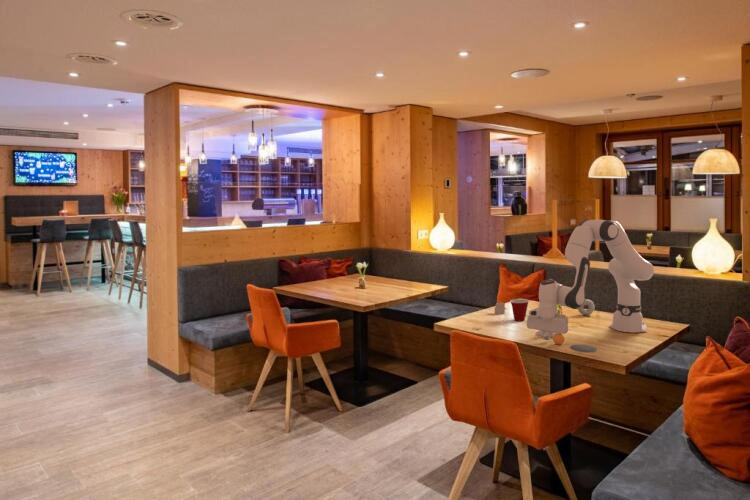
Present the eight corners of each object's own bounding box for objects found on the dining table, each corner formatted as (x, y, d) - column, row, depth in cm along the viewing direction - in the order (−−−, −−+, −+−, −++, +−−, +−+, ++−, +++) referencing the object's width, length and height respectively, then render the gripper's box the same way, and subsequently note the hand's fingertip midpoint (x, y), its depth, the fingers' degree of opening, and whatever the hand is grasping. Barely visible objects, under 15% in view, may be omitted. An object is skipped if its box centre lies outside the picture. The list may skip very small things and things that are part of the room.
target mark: (574, 343, 277) (574, 343, 277) (599, 347, 270) (599, 347, 270) (566, 349, 267) (566, 348, 267) (592, 353, 260) (592, 353, 260)
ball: (554, 342, 279) (555, 331, 279) (565, 344, 276) (566, 333, 275) (551, 344, 275) (551, 333, 274) (562, 346, 272) (562, 335, 271)
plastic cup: (513, 317, 332) (514, 297, 331) (531, 319, 326) (531, 299, 325) (506, 320, 324) (507, 300, 322) (524, 323, 317) (525, 302, 316)
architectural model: (493, 313, 344) (494, 301, 343) (505, 313, 344) (505, 301, 343) (495, 315, 340) (495, 303, 340) (506, 314, 341) (506, 303, 340)
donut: (578, 316, 335) (578, 299, 334) (576, 314, 338) (577, 298, 337) (595, 316, 334) (595, 299, 333) (593, 314, 338) (593, 298, 337)
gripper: (570, 314, 274) (569, 341, 276) (530, 308, 286) (529, 335, 288) (566, 316, 269) (565, 344, 271) (525, 311, 281) (525, 337, 283)
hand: (546, 339), depth 279 cm, fingers closed
